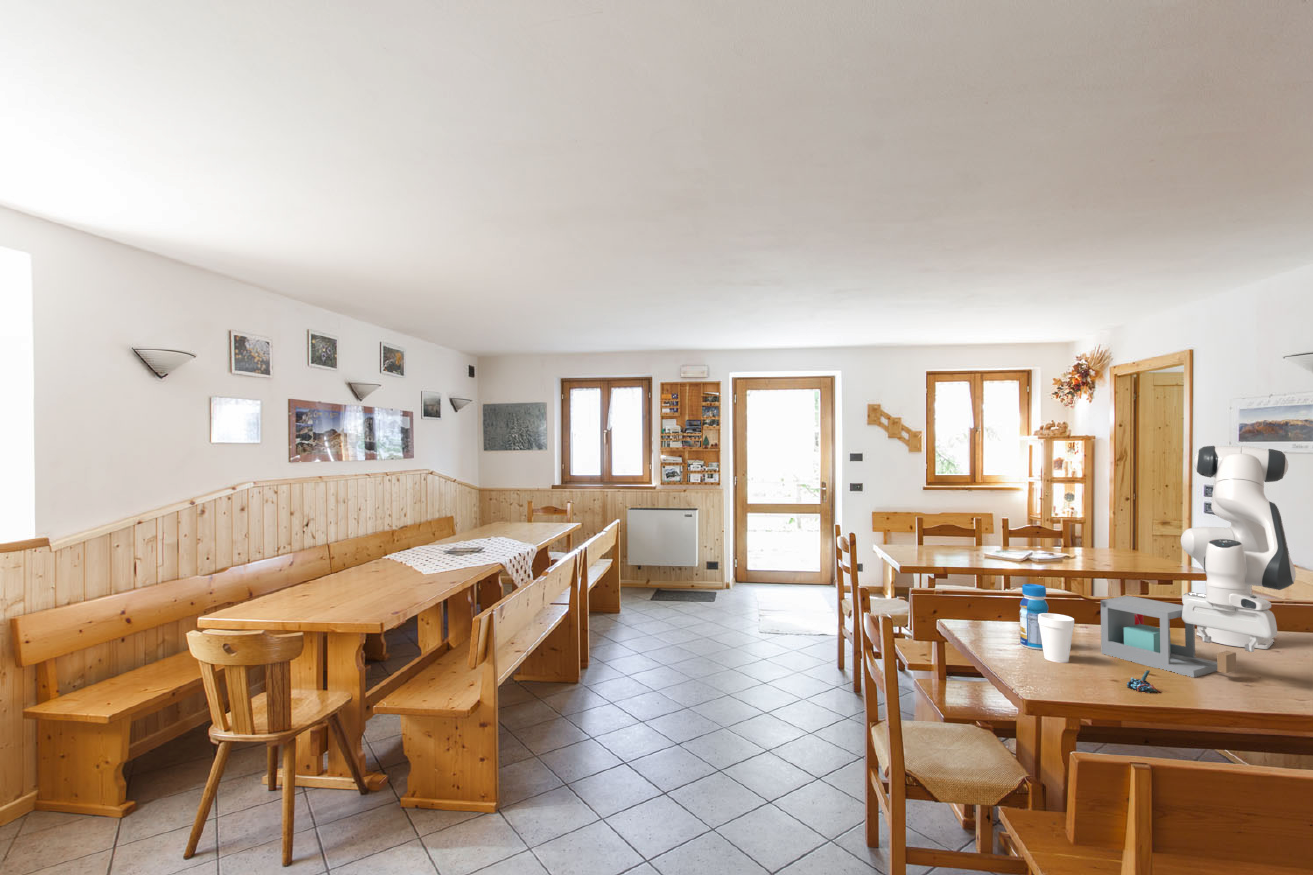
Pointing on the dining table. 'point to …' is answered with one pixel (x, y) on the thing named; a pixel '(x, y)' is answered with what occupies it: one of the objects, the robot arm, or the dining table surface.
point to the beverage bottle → (1032, 615)
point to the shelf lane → (1123, 615)
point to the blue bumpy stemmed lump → (1141, 684)
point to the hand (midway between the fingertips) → (1227, 646)
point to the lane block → (1150, 641)
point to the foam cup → (1056, 636)
